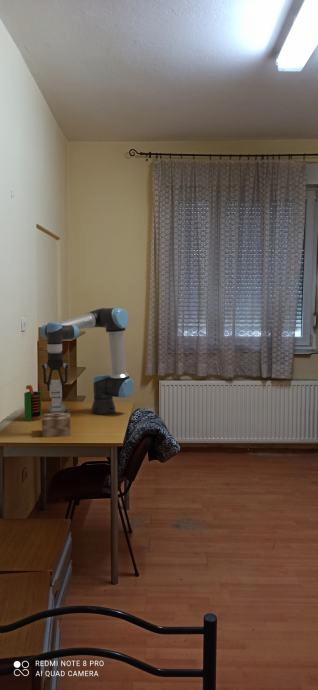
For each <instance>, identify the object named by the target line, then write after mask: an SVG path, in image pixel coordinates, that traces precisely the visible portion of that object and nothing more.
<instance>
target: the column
mask: <svg viewBox="0 0 318 690" xmlns="http://www.w3.org/2000/svg"><path fill="white" fill-rule="evenodd" d="M50 384H51V405H52V417H54V415H59V417H61V400H60V384H61V380H60V379H51V380H50Z"/></svg>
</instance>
